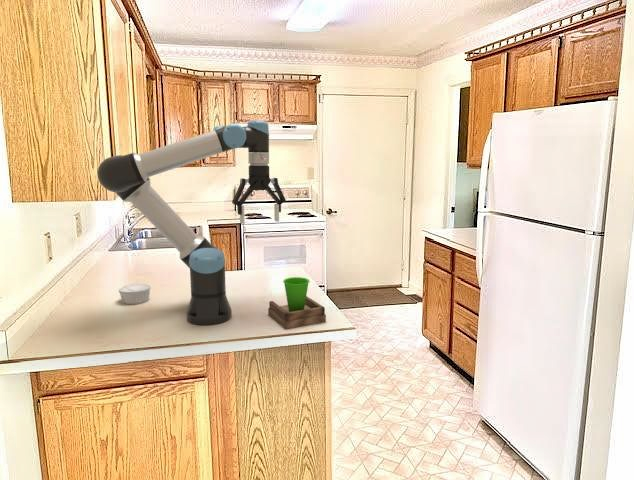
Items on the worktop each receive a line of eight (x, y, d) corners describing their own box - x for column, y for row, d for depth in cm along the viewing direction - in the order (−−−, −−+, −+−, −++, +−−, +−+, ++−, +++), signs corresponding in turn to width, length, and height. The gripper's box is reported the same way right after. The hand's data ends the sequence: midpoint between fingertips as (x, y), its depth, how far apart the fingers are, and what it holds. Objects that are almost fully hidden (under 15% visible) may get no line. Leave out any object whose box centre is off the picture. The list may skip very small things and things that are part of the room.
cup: (306, 316, 156) (306, 285, 154) (280, 314, 158) (279, 283, 156) (311, 307, 165) (312, 277, 163) (287, 306, 167) (286, 276, 165)
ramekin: (113, 304, 175) (112, 291, 174) (129, 295, 186) (128, 282, 185) (141, 306, 174) (141, 292, 173) (156, 297, 184) (155, 284, 183)
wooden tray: (285, 329, 152) (285, 314, 151) (268, 314, 165) (268, 301, 164) (325, 321, 159) (325, 307, 158) (306, 308, 172) (306, 295, 171)
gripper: (228, 165, 161) (230, 226, 165) (294, 164, 172) (294, 221, 176) (222, 164, 168) (224, 223, 172) (286, 164, 179) (286, 218, 183)
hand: (259, 222), depth 174 cm, fingers open, 13 cm apart
